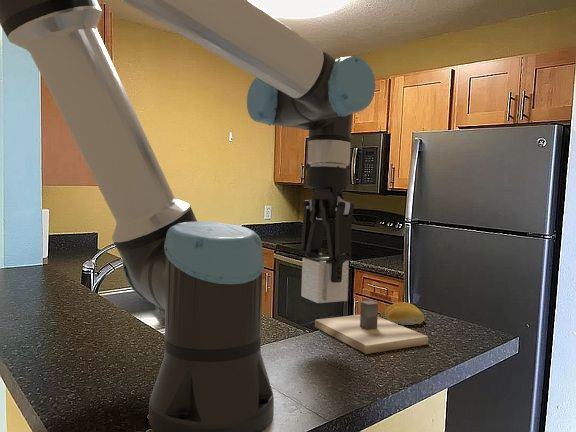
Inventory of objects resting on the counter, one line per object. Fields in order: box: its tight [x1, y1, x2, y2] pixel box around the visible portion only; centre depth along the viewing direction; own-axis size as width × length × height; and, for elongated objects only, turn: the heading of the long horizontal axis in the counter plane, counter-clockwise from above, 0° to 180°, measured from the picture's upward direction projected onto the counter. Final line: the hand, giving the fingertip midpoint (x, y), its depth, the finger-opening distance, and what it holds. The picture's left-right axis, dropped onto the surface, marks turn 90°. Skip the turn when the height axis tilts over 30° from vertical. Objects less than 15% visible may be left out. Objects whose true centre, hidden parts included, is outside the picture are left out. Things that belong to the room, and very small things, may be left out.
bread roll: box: [384, 301, 425, 326], centre depth 105 cm, size 8×9×4 cm
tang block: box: [314, 300, 429, 355], centre depth 93 cm, size 18×14×6 cm
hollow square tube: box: [300, 256, 350, 304], centre depth 85 cm, size 6×6×7 cm
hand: (322, 296), depth 85 cm, fingers closed on hollow square tube, 6 cm apart
